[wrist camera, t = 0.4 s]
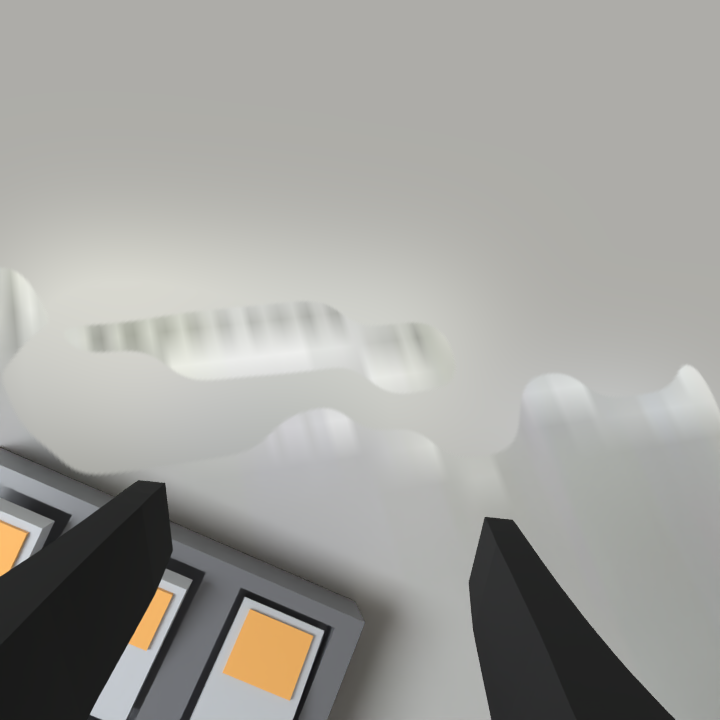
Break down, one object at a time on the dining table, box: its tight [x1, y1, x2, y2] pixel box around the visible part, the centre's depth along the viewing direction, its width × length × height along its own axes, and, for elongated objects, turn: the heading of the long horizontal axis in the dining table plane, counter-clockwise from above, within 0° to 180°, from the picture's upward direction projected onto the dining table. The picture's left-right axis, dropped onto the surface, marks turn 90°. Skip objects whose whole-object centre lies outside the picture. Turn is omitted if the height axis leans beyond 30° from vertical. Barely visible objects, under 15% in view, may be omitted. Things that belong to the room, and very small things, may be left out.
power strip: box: [0, 448, 365, 720], centre depth 31 cm, size 12×28×4 cm, turn 66°
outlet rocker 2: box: [190, 596, 324, 720], centre depth 29 cm, size 9×6×1 cm, turn 156°
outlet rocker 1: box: [90, 569, 193, 720], centre depth 28 cm, size 9×6×1 cm, turn 156°
